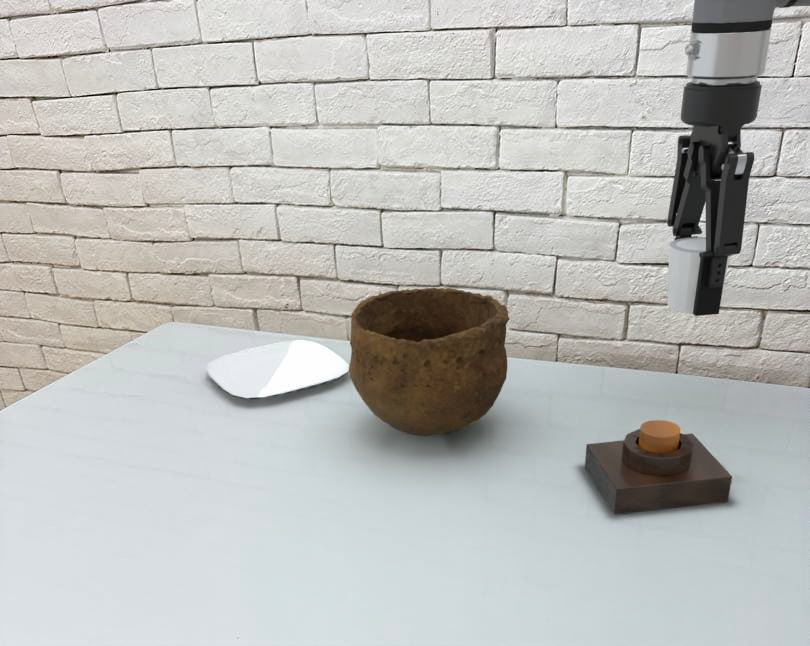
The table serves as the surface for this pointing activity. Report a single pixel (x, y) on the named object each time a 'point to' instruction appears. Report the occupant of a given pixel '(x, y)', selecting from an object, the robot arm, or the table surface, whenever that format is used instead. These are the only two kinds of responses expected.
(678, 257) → the white cup
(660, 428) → the orange push button
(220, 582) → the table surface
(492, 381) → the bowl
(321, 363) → the plate
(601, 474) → the brown button base
